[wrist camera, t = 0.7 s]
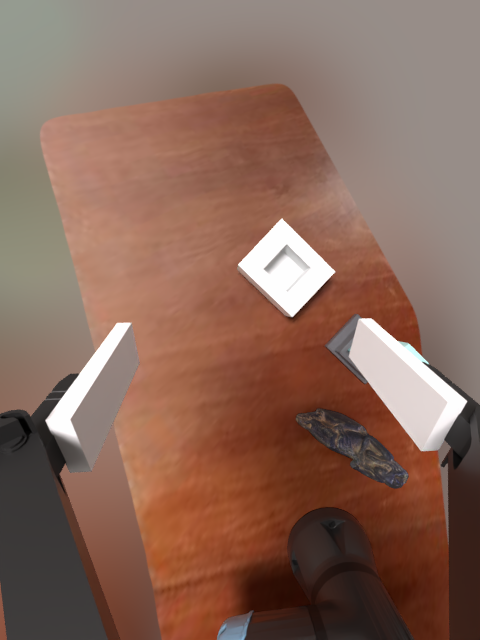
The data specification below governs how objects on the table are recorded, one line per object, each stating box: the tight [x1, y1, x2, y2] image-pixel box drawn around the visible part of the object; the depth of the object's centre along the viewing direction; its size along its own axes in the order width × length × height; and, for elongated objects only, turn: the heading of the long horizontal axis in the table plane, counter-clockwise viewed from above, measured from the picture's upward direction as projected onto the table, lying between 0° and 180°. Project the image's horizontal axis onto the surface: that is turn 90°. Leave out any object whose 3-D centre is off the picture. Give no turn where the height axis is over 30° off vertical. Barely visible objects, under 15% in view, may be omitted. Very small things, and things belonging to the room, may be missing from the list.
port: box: [237, 219, 335, 317], centre depth 43 cm, size 12×10×5 cm
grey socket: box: [325, 314, 368, 384], centre depth 45 cm, size 10×8×3 cm
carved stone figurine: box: [296, 408, 409, 488], centre depth 40 cm, size 6×12×15 cm, turn 76°
